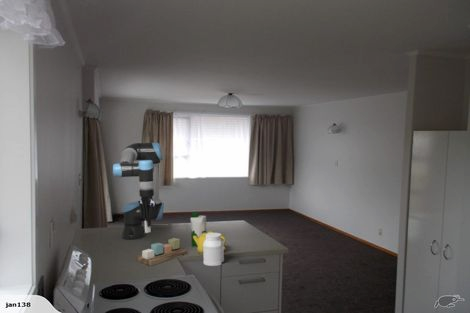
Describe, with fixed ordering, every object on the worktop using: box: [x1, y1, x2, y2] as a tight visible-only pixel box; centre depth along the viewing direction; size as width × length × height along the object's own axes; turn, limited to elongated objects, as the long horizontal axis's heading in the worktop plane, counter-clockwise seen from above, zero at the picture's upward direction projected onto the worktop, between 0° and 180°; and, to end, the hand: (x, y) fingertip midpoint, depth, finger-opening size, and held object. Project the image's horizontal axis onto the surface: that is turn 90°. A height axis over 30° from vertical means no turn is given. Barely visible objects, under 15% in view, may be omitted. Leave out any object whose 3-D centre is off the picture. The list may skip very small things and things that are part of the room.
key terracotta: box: [163, 243, 172, 254], centre depth 210 cm, size 5×5×5 cm
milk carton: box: [190, 212, 207, 247], centre depth 229 cm, size 9×9×20 cm
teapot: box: [193, 231, 227, 254], centre depth 216 cm, size 20×12×12 cm, turn 73°
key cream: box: [141, 248, 154, 259], centre depth 200 cm, size 5×5×5 cm
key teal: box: [150, 242, 164, 255], centre depth 205 cm, size 5×5×5 cm
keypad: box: [135, 247, 188, 267], centre depth 207 cm, size 14×25×2 cm, turn 139°
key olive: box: [167, 237, 181, 250], centre depth 214 cm, size 5×5×5 cm
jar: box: [202, 232, 225, 267], centre depth 197 cm, size 12×10×15 cm
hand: (147, 232), depth 200 cm, fingers closed
